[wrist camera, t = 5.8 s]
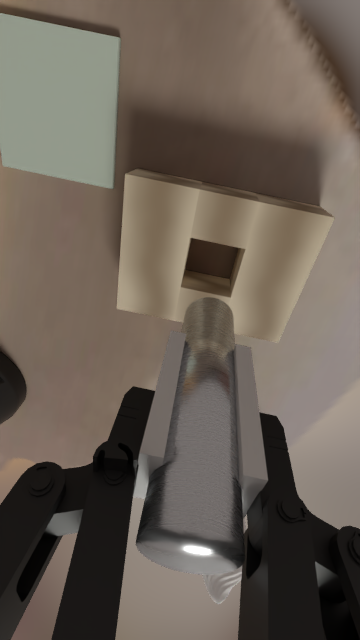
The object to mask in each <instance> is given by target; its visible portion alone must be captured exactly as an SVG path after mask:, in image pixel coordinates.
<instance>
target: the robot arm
mask: <svg viewBox="0 0 360 640" xmlns="http://www.w3.org/2000/svg"><path fill="white" fill-rule="evenodd" d="M185 337H186V334H185V333H180V332H176V331H171V333H170V337H169V340H168V344H167V348H166V352H165V356H164V360H163V364H162V367H161V371H160V375H159V379H158V383H157V387H156V391H153V390H148V389H143V388H138V387H134V386H133V387H132V388H131V389H130V390H129V391H128V392H127V393H126V394H125V395H124V398H123V401H122V403H121V407H120V409H119V411H118V414H117V417H116V419H115V422H114V425H113V427H112V430H111V433H110V436H109V438H108V441H106V442H104V443H102V444H101V445H100V446H99V447H98V448H97V449H96V451H95V454H94V456H93V463H91V464H88V465H86V466H82V467H76V468H68V469H62V468H61V466H59V465H57V464H56V463H53V462H42V463H37V464H35V465H34V466H32V467H30V468H28V469H27V470H26V471H25V472H24V473H23V474H22V475H21V477H20V478H19V479H18V481H17V482H16V484H15V485H14V486H13V488H12V489H11V491H10V492H9V494H8V495H7V496H6V498H5V499H4V500H3V502H2V503H1V505H0V640H11V638H12V636H13V634H14V632H15V630H16V628H17V625H18V624H19V622H20V620H21V618H22V616H23V614H24V612H25V610H26V608H27V606H28V604H29V602H30V600H31V598H32V596H33V594H34V592H35V590H36V588H37V586H38V584H39V582H40V580H41V578H42V576H43V574H44V572H45V570H46V568H47V566H48V564H49V562H50V560H51V558H52V556H53V554H54V552H55V550H56V548H57V546H58V544H59V542H60V540H61V538H62V536H63V535H66V534H72V533H78V534H77V538H76V542H75V546H74V550H73V554H72V558H71V563H70V567H69V571H68V575H67V579H66V583H65V587H64V591H63V595H62V599H61V603H60V607H59V611H58V615H57V619H56V624H55V627H54V631H53V635H52V640H115V636H116V628H117V619H118V611H119V604H120V596H121V587H122V580H123V572H124V563H125V554H126V547H127V539H128V531H129V522H130V514H131V506H132V499H133V497H136V498H141V499H145V497H146V492H147V487H148V483H149V478H150V475H151V474H152V472H153V471H154V470H155V469H157V468H158V467H160V466H162V463H163V459H164V454H165V449H166V443H167V438H168V432H169V426H170V421H171V415H172V410H173V404H174V399H175V393H176V388H177V382H178V376H179V371H180V365H181V360H182V354H183V349H184V343H185ZM234 373H235V397H236V420H237V443H238V466H239V483H240V485H241V489H242V506H243V519H244V517H245V516H246V514H247V520H248V529H247V530H246V531H245V533H244V549H245V561H244V563H243V565H242V578H241V597H240V615H239V631H238V640H360V529H358V528H356V527H352V526H345V527H342V528H341V529H340V530H339V529H337V528H335V527H333V526H332V525H329V524H328V523H326V522H324V521H323V520H321V519H319V518H317V517H316V516H315V515H313V514H312V513H311V512H310V511H309V510H308V509H307V507H306V506H305V504H304V503H303V501H302V500H301V499H300V498H299V496H298V494H297V491H296V487H295V482H294V477H293V472H292V468H291V462H290V458H289V453H288V448H287V443H286V438H285V433H284V428H283V426H282V425H281V423H280V421H279V420H278V418H277V416H273V415H269V414H264V413H259V406H258V399H257V391H256V383H255V376H254V368H253V360H252V353H251V347H247V346H242V345H237V344H235V347H234ZM25 397H26V385H25V381H24V379H23V377H22V375H21V373H20V372H19V370H18V369H17V368H16V366H15V365H14V364H13V363H12V362H11V361H10V360H9V359H8V358H7V357H6V356H5V355H3V354H2V353H1V352H0V424H2V423H3V422H4V421H6V420H8V419H9V418H10V417H12V416H13V415H14V414H15V413H16V411H17V410H18V408H19V407H20V406H21V404H22V403H23V402H24V400H25Z"/></svg>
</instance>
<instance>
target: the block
mask: <svg viewBox="0 0 360 640" xmlns="http://www.w3.org/2000/svg"><path fill="white" fill-rule="evenodd" d="M334 219H335V217H333V216H332V215H331V214H329V213H328V212H327V211H325V210H324V209H323V208H321V207H320V206H316V205H311V204H306V203H302V202H297V201H292V200H287V199H282V198H278V197H273V196H268V195H263V194H258V193H254V192H249V191H244V190H239V189H235V188H230V187H225V186H220V185H215V184H211V183H206V182H201V181H196V180H192V179H187V178H182V177H177V176H172V175H168V174H163V173H158V172H153V171H148V170H144V169H139V168H137V169H135V170H133V171H131V172H128V173H126V174H125V185H124V201H123V217H122V233H121V248H120V264H119V280H118V296H117V309H121V310H126V311H130V312H135V313H140V314H145V315H149V316H154V317H159V318H164V319H168V320H173V321H178V322H182V323H183V320H184V316H185V312H186V309H187V308H188V306H189V305H190V304H191V303H192V302H194V301H195V300H197V299H200V298H205V297H212V298H217V299H219V300H222V301H223V302H225V303H226V304H227V305H228V306H229V307H230V308H231V310H232V313H233V317H234V334H239V335H244V336H249V337H253V338H258V339H263V340H267V341H272V342H277V343H278V342H279V340H280V338H281V335H282V333H283V331H284V329H285V327H286V324H287V322H288V320H289V318H290V316H291V313H292V311H293V309H294V307H295V305H296V302H297V300H298V298H299V296H300V294H301V291H302V289H303V287H304V285H305V283H306V280H307V278H308V276H309V274H310V272H311V269H312V267H313V265H314V263H315V261H316V258H317V256H318V254H319V252H320V250H321V247H322V245H323V243H324V241H325V239H326V236H327V234H328V232H329V230H330V228H331V225H332V223H333V221H334ZM191 238H195V239H200V240H204V241H209V242H214V243H219V244H223V245H228V246H233V247H238V248H239V249H238V252H237V256H236V259H235V262H234V266H233V269H232V273H231V276H230V279H227V278H222V277H217V276H212V275H208V274H203V273H198V272H193V271H189V270H185V268H186V263H187V258H188V253H189V248H190V243H191Z"/></svg>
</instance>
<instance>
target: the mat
mask: <svg viewBox="0 0 360 640" xmlns="http://www.w3.org/2000/svg"><path fill="white" fill-rule="evenodd" d="M120 46H121V39H120V38H119V37H114V36H109V35H104V34H100V33H95V32H90V31H85V30H80V29H75V28H71V27H66V26H61V25H56V24H51V23H46V22H42V21H37V20H32V19H27V18H22V17H17V16H13V15H8V14H3V13H0V149H1V156H2V163H3V166H6V167H10V168H15V169H20V170H25V171H29V172H34V173H39V174H44V175H49V176H53V177H58V178H63V179H68V180H72V181H77V182H82V183H87V184H91V185H96V186H101V187H106V188H111V189H114V179H115V157H116V135H117V112H118V90H119V68H120Z"/></svg>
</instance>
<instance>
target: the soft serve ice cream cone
mask: <svg viewBox="0 0 360 640" xmlns="http://www.w3.org/2000/svg"><path fill="white" fill-rule="evenodd" d="M243 528H244V533H245V531H246V527H245V519H243ZM202 575H203V574H202ZM241 578H242V566H241V567H240V568H238V569H236V570H234V571H231V572H228V573H223V574H214V575H203V579H204V583H205V586H206V588H207V591H208V593H209V595H210V597H211V598H212V599H213V601H214V602H216V603H217V604H220V603H222V602H223V601H224V600H225V599H226V598H227V596H228V595H229V593H230V590H231V588H232V587H233V586H235V585H236V584H238V583H239V582H240V580H241Z"/></svg>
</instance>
